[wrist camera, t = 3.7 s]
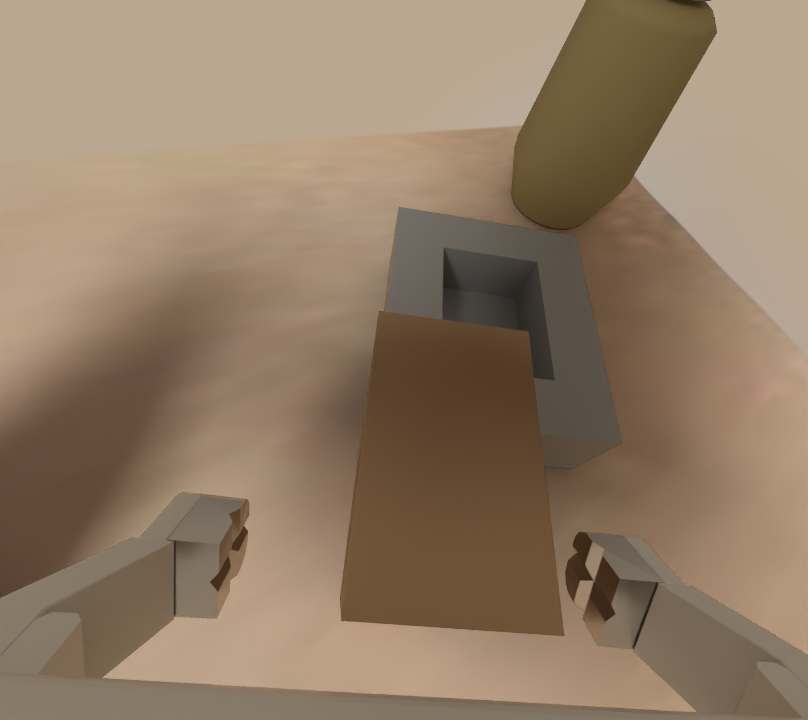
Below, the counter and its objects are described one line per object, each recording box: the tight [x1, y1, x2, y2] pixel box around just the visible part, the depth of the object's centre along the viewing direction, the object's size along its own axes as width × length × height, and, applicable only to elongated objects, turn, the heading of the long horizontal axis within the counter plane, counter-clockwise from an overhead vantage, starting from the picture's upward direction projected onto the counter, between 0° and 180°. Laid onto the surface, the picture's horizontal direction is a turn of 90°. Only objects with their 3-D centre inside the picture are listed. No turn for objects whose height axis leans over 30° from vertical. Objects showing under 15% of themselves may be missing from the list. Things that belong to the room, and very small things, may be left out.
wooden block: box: [340, 311, 564, 636], centre depth 12 cm, size 5×3×12 cm, turn 176°
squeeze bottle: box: [511, 0, 717, 229], centre depth 22 cm, size 8×8×18 cm
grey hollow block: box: [385, 207, 622, 469], centre depth 20 cm, size 12×10×4 cm
